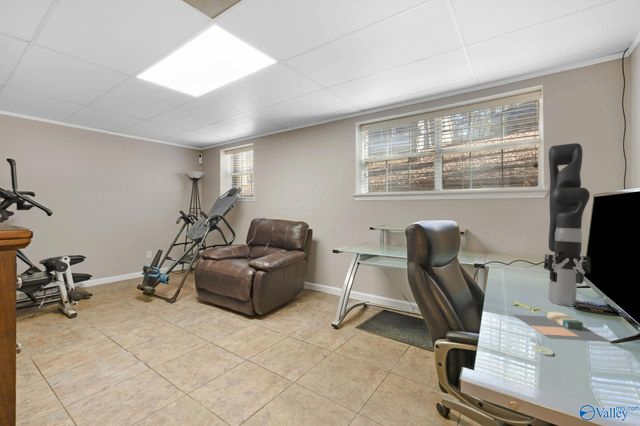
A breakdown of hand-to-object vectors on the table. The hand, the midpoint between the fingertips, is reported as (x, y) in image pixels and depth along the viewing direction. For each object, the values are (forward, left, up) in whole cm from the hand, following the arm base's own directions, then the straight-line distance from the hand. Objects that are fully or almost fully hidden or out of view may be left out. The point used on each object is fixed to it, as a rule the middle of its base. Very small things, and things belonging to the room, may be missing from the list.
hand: (566, 282), depth 102 cm
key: (-16, -1, -18) cm, 24 cm away
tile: (-2, +1, -16) cm, 17 cm away
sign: (+16, -20, -18) cm, 31 cm away
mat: (+2, -4, -17) cm, 18 cm away
